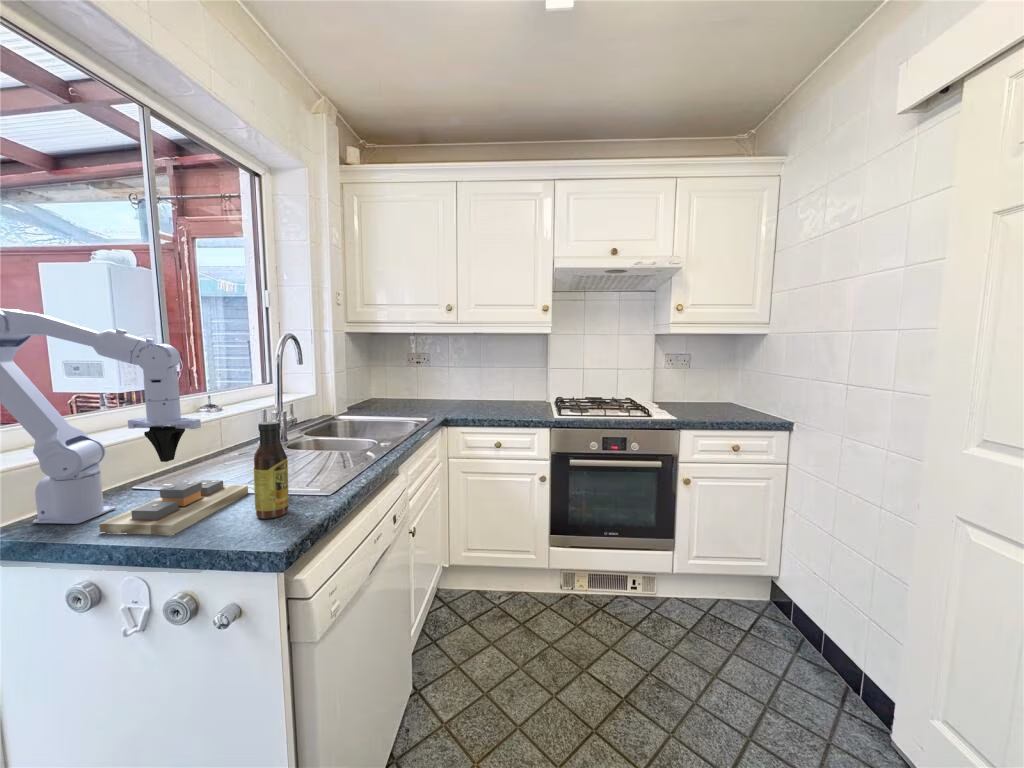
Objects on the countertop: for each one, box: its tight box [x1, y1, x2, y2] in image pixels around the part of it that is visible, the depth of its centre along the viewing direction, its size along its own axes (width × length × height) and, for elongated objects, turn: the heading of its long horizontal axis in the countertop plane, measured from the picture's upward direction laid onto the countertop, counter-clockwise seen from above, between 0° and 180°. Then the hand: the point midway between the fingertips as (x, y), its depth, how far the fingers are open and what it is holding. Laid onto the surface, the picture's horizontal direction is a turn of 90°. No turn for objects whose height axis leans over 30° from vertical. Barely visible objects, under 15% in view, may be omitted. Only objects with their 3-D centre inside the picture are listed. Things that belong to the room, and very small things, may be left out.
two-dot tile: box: [159, 481, 202, 507], centre depth 89 cm, size 5×5×4 cm
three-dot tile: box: [198, 479, 224, 496], centre depth 96 cm, size 5×5×4 cm
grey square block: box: [131, 500, 179, 521], centre depth 83 cm, size 5×5×4 cm
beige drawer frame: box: [98, 484, 249, 536], centre depth 89 cm, size 14×22×2 cm, turn 179°
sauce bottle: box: [253, 420, 290, 520], centre depth 88 cm, size 6×6×20 cm
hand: (167, 460), depth 91 cm, fingers closed
